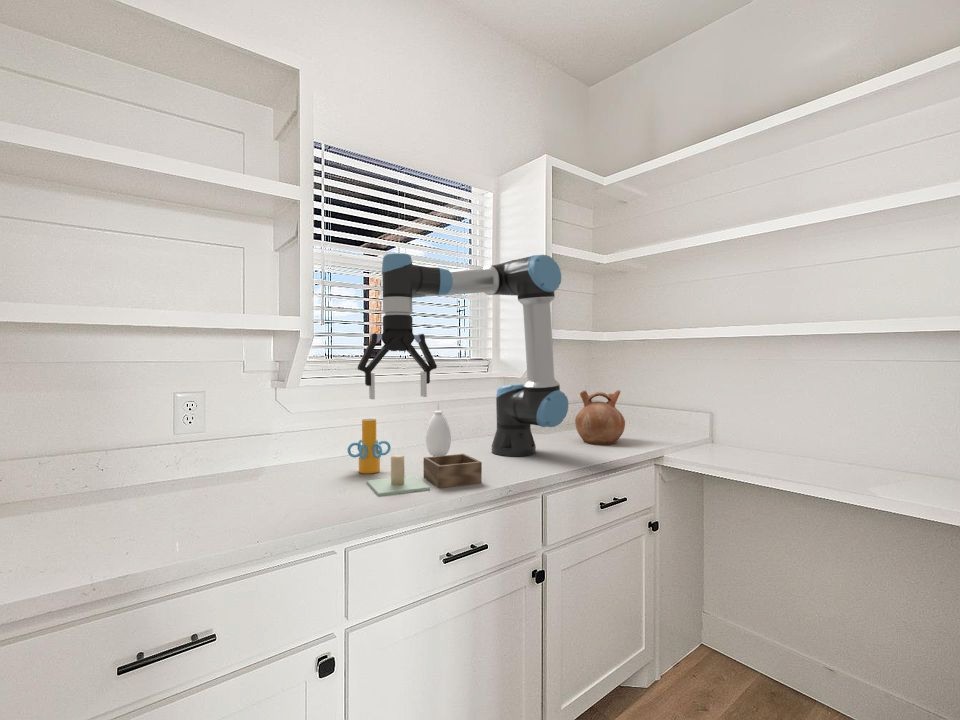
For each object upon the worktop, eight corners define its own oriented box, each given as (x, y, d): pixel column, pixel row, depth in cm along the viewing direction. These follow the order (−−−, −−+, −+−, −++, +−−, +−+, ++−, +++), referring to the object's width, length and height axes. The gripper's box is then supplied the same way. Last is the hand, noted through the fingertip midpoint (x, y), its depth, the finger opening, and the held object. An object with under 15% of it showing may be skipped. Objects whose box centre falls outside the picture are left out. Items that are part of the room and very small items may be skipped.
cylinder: (378, 477, 138) (377, 423, 138) (342, 475, 140) (342, 422, 140) (394, 467, 150) (394, 417, 150) (361, 466, 152) (361, 416, 152)
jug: (623, 439, 199) (623, 388, 198) (626, 447, 181) (626, 392, 181) (576, 437, 203) (576, 387, 202) (574, 445, 185) (574, 391, 185)
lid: (414, 479, 138) (414, 449, 138) (430, 491, 126) (430, 459, 126) (366, 485, 132) (366, 454, 132) (378, 498, 121) (378, 464, 120)
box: (463, 472, 143) (463, 453, 143) (481, 482, 132) (481, 462, 132) (423, 477, 138) (423, 457, 138) (438, 488, 127) (438, 466, 127)
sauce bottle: (441, 462, 157) (441, 404, 157) (421, 459, 161) (421, 403, 161) (455, 457, 164) (455, 402, 164) (435, 455, 168) (435, 401, 167)
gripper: (438, 316, 138) (438, 394, 138) (345, 314, 127) (346, 398, 127) (448, 315, 131) (449, 396, 131) (351, 312, 120) (352, 401, 121)
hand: (398, 397), depth 129 cm, fingers open, 13 cm apart
